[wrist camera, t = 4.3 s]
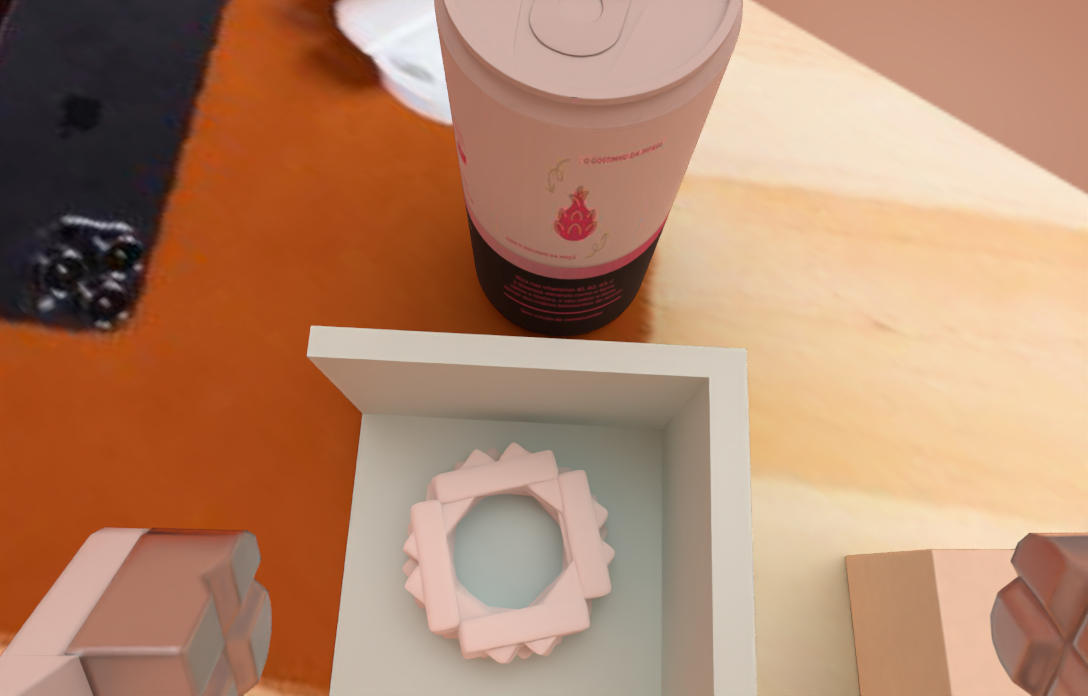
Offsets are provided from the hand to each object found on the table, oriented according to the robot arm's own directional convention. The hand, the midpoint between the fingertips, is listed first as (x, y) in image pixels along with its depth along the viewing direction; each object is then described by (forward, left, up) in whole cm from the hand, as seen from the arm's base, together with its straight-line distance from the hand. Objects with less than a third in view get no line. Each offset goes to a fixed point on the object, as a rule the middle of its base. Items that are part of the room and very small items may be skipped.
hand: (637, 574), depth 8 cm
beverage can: (0, +12, -19) cm, 23 cm away
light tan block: (+12, -2, -19) cm, 23 cm away
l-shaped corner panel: (-1, 0, -19) cm, 19 cm away
